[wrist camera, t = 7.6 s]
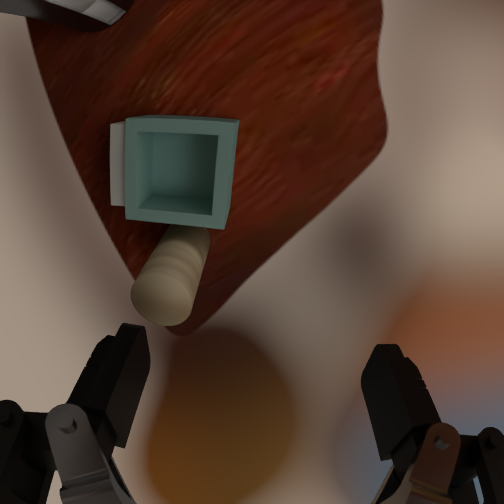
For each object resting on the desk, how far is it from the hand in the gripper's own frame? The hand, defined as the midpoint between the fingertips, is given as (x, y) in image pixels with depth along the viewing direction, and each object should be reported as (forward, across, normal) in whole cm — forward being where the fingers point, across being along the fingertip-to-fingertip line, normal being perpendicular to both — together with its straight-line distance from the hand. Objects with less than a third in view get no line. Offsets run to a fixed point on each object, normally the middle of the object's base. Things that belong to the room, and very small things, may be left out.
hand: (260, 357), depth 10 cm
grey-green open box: (+16, +6, -3) cm, 18 cm away
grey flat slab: (+16, +10, -3) cm, 20 cm away
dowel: (+16, +6, +4) cm, 18 cm away
